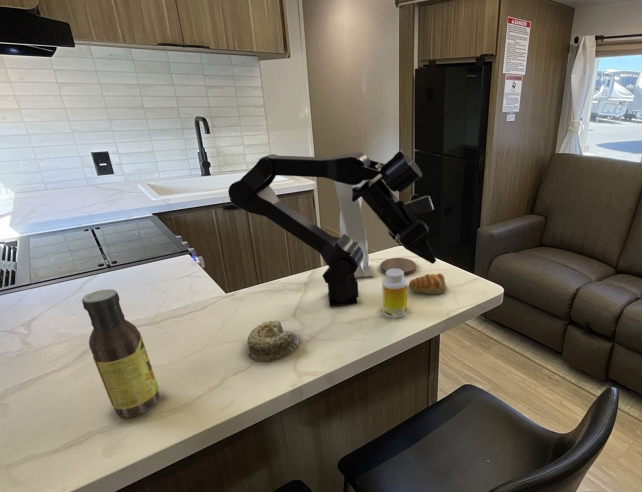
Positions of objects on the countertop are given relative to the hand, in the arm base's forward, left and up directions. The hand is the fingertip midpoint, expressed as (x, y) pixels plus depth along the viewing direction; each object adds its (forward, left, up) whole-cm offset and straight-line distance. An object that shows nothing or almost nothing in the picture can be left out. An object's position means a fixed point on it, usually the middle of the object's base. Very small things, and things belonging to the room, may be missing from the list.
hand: (429, 259), depth 90 cm
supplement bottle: (-8, -1, -12) cm, 15 cm away
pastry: (+3, +8, -12) cm, 15 cm away
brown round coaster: (-2, +22, -12) cm, 25 cm away
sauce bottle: (-54, -19, -12) cm, 59 cm away
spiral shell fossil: (-34, -8, -12) cm, 37 cm away
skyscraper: (-14, +21, -12) cm, 28 cm away
